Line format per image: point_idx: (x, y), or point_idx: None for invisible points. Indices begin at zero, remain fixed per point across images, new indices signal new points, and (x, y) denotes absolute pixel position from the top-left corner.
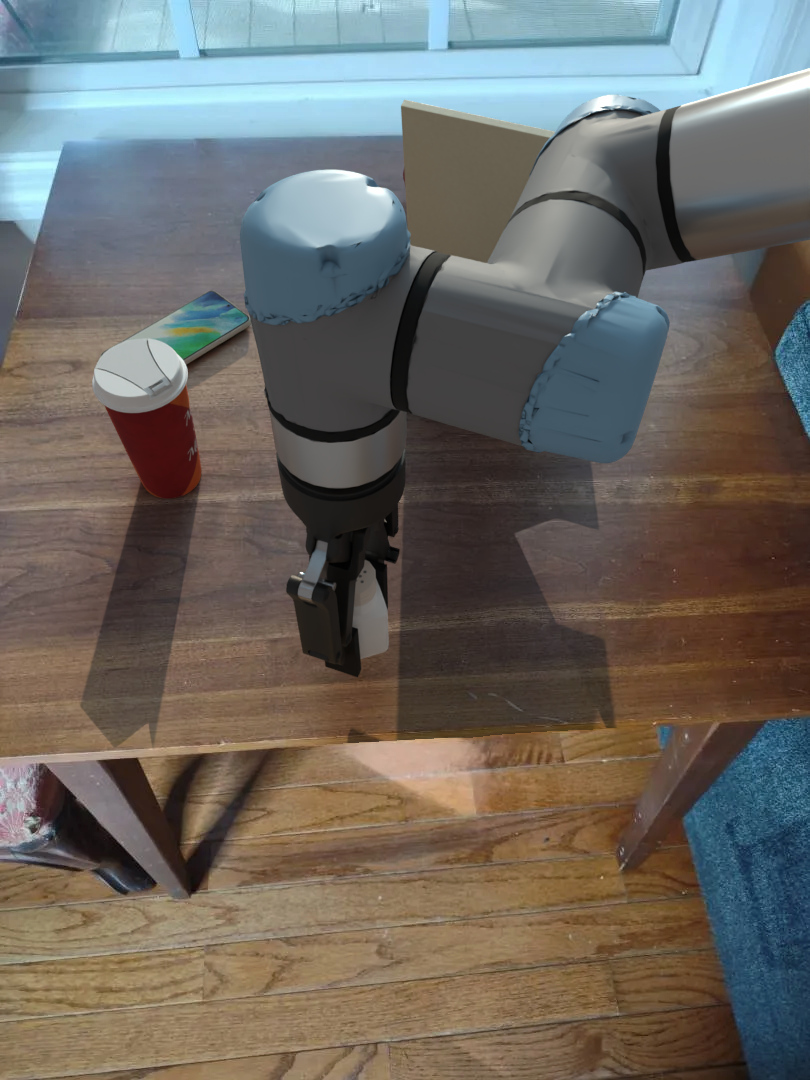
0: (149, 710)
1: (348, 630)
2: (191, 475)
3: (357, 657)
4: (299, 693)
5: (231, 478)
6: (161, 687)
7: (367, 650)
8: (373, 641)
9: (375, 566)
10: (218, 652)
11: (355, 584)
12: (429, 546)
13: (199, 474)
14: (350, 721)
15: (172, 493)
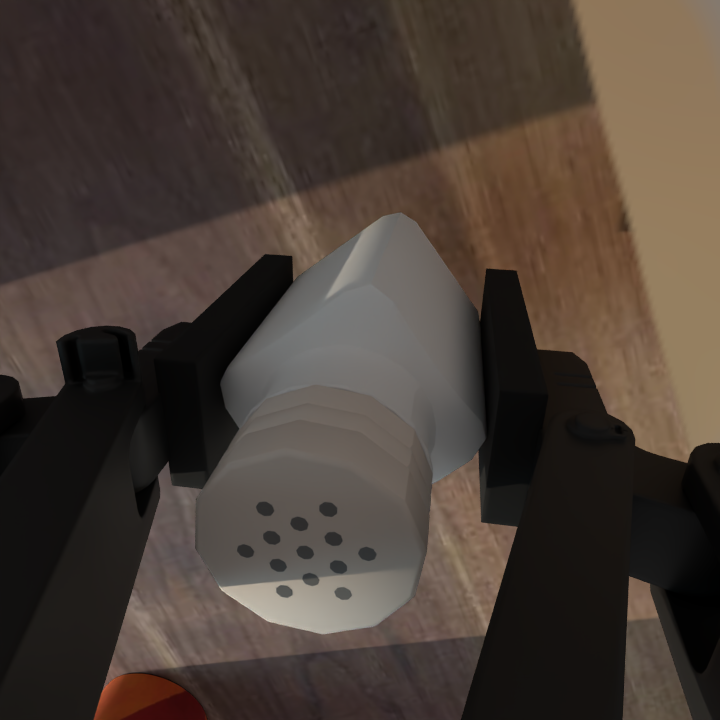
0: (649, 634)
1: (596, 468)
2: (140, 715)
3: (513, 310)
4: None
5: None
6: None
7: (444, 277)
8: (428, 274)
9: (183, 399)
10: (488, 558)
11: (472, 694)
12: (28, 195)
13: (130, 687)
14: (599, 238)
15: (190, 714)
